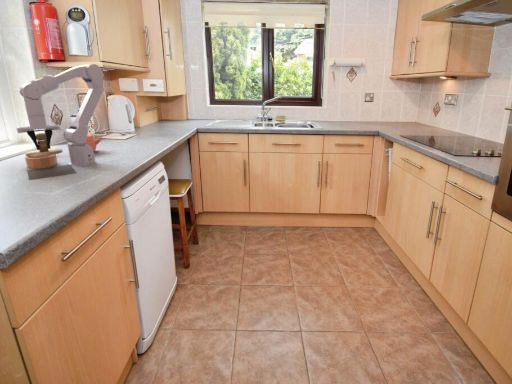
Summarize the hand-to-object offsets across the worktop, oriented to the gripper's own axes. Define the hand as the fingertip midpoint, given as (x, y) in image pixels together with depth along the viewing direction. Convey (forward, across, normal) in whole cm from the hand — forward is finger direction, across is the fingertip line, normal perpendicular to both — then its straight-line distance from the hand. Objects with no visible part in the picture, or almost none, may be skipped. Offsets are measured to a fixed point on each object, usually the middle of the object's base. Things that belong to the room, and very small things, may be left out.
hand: (43, 149), depth 134 cm
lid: (+2, 0, 0) cm, 2 cm away
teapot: (+9, -20, -28) cm, 35 cm away
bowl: (+9, +1, -9) cm, 13 cm away
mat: (+9, -1, +6) cm, 11 cm away
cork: (+9, -2, -32) cm, 33 cm away
